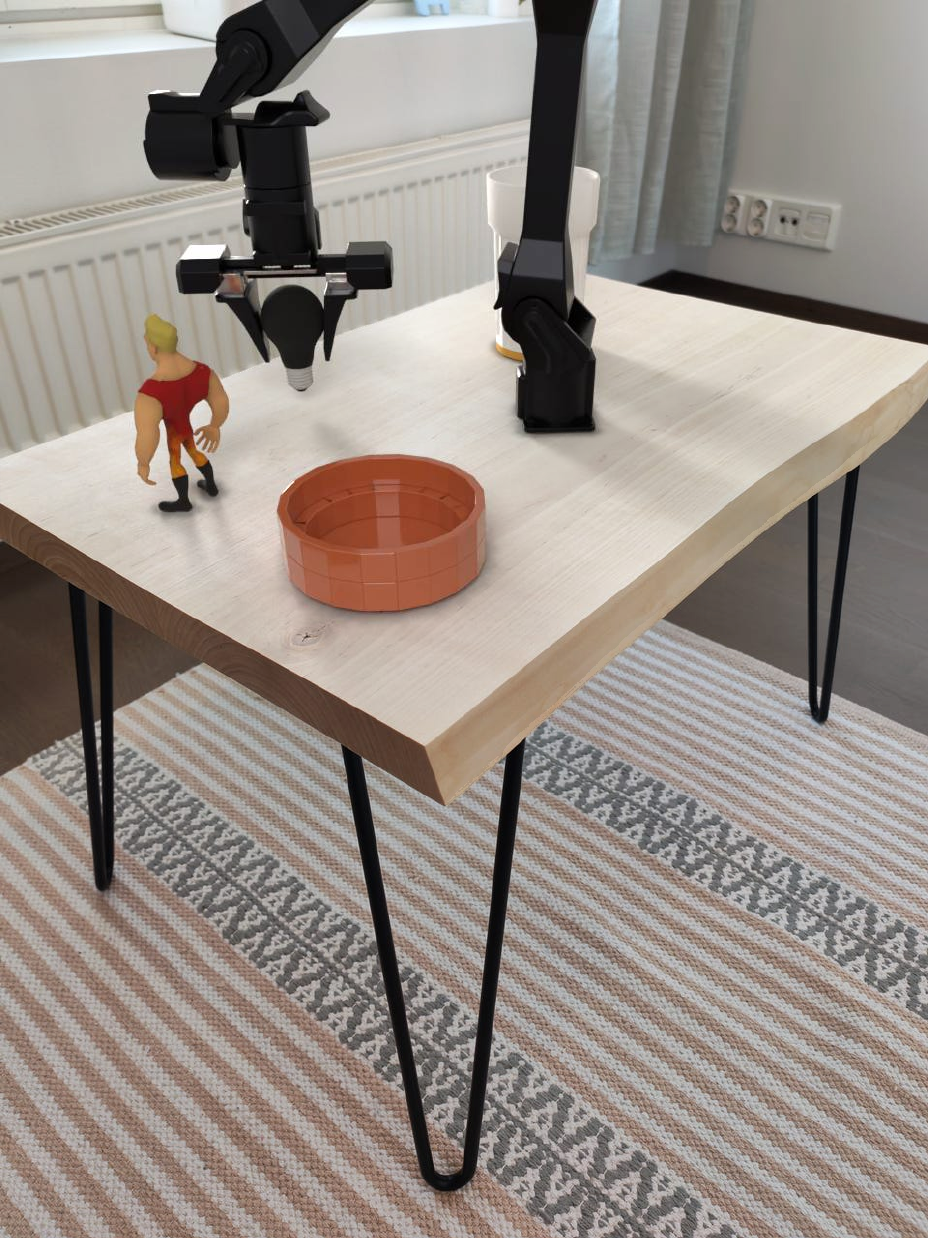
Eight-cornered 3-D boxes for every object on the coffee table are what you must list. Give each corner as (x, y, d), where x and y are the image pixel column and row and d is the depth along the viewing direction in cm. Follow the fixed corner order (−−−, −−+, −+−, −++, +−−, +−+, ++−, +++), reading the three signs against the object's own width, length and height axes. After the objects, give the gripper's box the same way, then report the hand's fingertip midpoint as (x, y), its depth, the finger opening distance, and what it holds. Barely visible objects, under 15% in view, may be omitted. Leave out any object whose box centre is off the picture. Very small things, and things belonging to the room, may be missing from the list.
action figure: (216, 471, 83) (184, 293, 74) (248, 481, 82) (219, 300, 73) (132, 519, 76) (86, 330, 68) (165, 531, 75) (123, 339, 66)
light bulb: (321, 405, 91) (309, 297, 85) (261, 401, 92) (246, 293, 86) (340, 381, 96) (330, 277, 90) (283, 377, 97) (270, 274, 91)
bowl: (480, 509, 77) (480, 451, 74) (490, 614, 65) (490, 550, 63) (297, 514, 77) (290, 456, 74) (274, 620, 65) (264, 556, 62)
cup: (522, 322, 113) (526, 159, 103) (608, 342, 107) (621, 171, 97) (465, 352, 105) (462, 178, 95) (554, 374, 100) (562, 192, 90)
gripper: (390, 161, 90) (399, 329, 99) (186, 165, 89) (214, 333, 99) (386, 187, 81) (396, 370, 90) (159, 193, 80) (192, 375, 89)
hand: (298, 360), depth 92 cm, fingers closed on light bulb, 5 cm apart
